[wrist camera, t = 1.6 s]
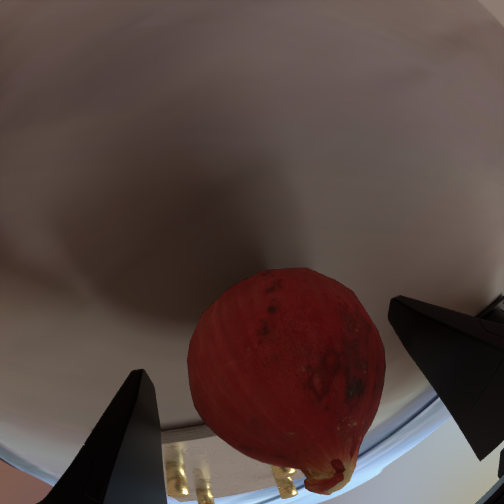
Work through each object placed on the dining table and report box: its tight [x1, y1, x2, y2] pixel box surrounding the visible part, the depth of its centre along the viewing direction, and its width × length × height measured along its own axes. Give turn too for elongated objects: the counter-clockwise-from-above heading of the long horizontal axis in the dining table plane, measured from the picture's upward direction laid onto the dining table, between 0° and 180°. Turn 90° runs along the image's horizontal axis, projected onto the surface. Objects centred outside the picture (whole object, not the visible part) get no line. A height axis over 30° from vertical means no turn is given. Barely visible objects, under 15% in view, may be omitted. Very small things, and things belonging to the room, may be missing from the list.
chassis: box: [161, 424, 305, 504], centre depth 15 cm, size 14×14×4 cm
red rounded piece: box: [187, 268, 386, 495], centre depth 8 cm, size 6×6×8 cm
